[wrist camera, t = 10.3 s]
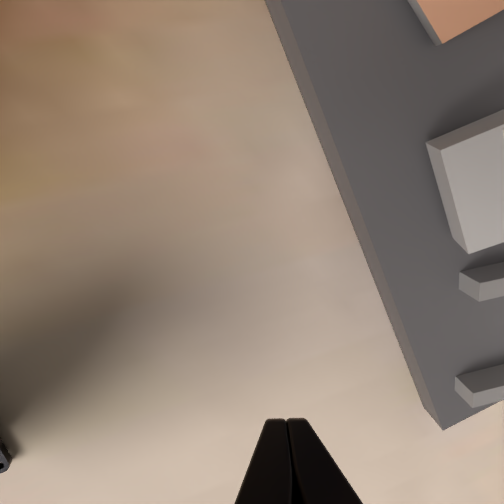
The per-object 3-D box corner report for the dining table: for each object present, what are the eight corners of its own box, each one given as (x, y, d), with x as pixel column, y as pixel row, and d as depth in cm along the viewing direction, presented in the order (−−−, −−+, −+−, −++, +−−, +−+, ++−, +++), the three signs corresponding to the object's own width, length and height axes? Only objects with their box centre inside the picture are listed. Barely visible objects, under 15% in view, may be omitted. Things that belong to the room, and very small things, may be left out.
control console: (423, 407, 26) (459, 450, 22) (222, -109, 15) (233, -171, 12) (587, 323, 26) (646, 353, 22) (500, -253, 15) (588, -355, 12)
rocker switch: (452, 238, 19) (470, 256, 17) (425, 142, 17) (441, 151, 15) (541, 206, 18) (570, 221, 16) (522, 101, 16) (552, 105, 14)
